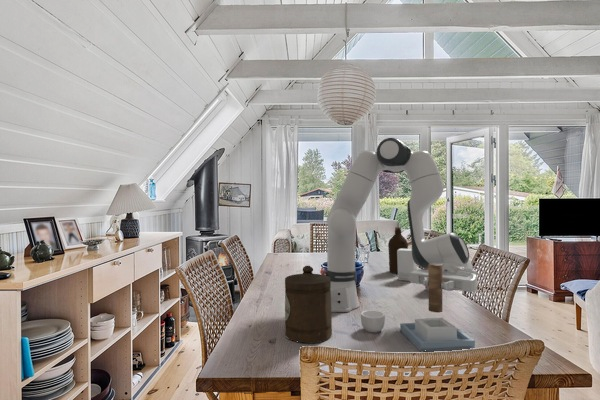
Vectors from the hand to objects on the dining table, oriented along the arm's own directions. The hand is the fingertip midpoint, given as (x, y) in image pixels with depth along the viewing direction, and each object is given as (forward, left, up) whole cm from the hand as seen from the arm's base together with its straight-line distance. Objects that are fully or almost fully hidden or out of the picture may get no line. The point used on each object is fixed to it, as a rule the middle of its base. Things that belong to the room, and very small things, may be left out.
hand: (434, 284), depth 114 cm
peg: (+1, +1, -8) cm, 8 cm away
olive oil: (+23, +93, -17) cm, 98 cm away
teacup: (-16, +11, -17) cm, 26 cm away
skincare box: (+21, +75, -17) cm, 80 cm away
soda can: (+25, +54, -17) cm, 62 cm away
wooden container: (-38, +9, -17) cm, 42 cm away
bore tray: (0, 0, -17) cm, 17 cm away
